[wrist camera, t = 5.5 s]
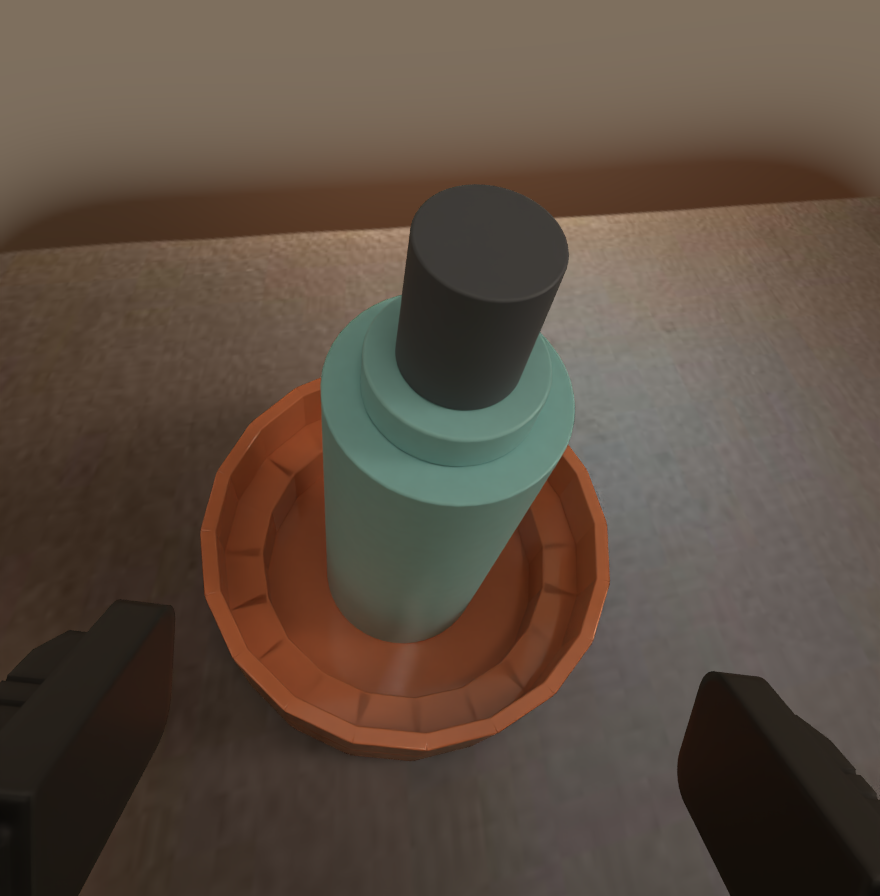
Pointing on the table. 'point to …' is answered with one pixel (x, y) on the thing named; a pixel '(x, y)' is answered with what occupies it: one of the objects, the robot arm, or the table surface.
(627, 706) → the table surface
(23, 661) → the robot arm
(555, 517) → the bowl
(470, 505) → the bottle
